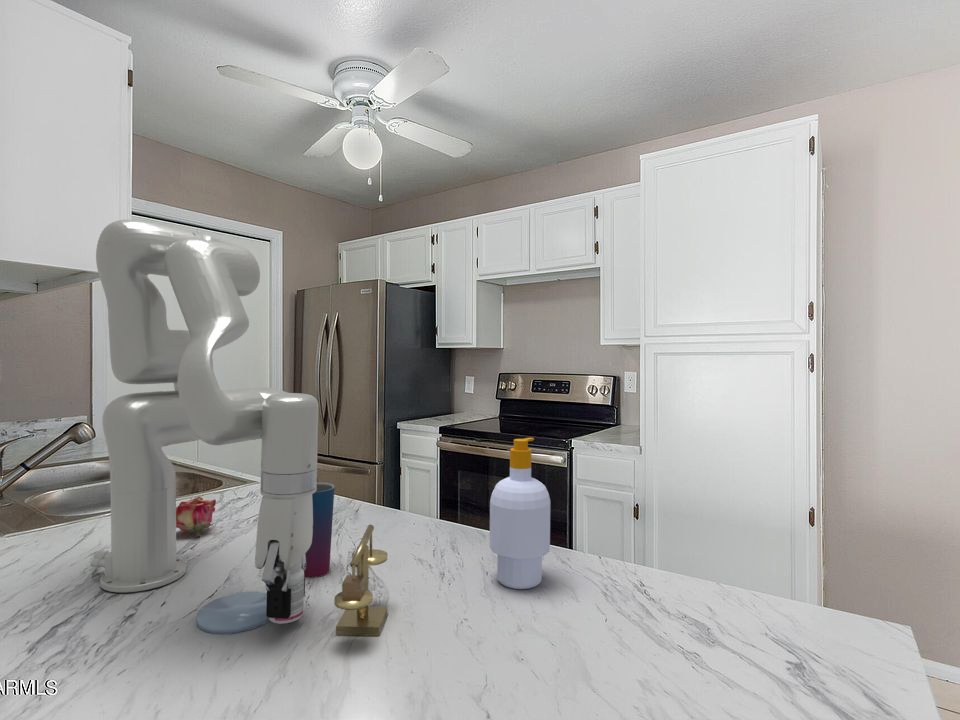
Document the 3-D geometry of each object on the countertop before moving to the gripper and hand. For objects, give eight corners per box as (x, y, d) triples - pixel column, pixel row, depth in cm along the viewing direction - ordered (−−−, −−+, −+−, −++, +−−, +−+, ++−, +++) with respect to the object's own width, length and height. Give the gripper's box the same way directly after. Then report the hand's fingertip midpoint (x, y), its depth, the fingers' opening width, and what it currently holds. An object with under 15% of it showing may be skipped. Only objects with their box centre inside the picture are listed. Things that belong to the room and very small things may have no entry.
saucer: (181, 632, 77) (180, 625, 77) (220, 597, 88) (220, 590, 88) (259, 634, 77) (259, 627, 77) (289, 598, 88) (289, 592, 88)
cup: (323, 581, 94) (323, 493, 94) (286, 577, 95) (286, 491, 95) (341, 565, 101) (341, 483, 100) (306, 562, 102) (306, 481, 102)
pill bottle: (310, 612, 81) (311, 555, 80) (286, 627, 76) (287, 567, 76) (285, 604, 83) (286, 549, 82) (260, 619, 78) (261, 560, 78)
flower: (230, 526, 117) (223, 491, 120) (188, 529, 109) (182, 492, 113) (203, 546, 120) (197, 511, 124) (161, 550, 113) (155, 513, 116)
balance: (325, 652, 72) (325, 554, 72) (355, 600, 87) (355, 518, 87) (371, 654, 72) (371, 555, 72) (393, 601, 87) (393, 519, 87)
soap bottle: (561, 580, 95) (563, 440, 95) (524, 600, 88) (525, 447, 87) (515, 564, 102) (516, 433, 102) (476, 581, 95) (477, 439, 94)
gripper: (285, 466, 87) (283, 580, 88) (234, 497, 70) (231, 638, 71) (333, 468, 87) (330, 582, 88) (293, 499, 70) (289, 641, 71)
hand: (286, 606), depth 79 cm, fingers closed on pill bottle, 4 cm apart
